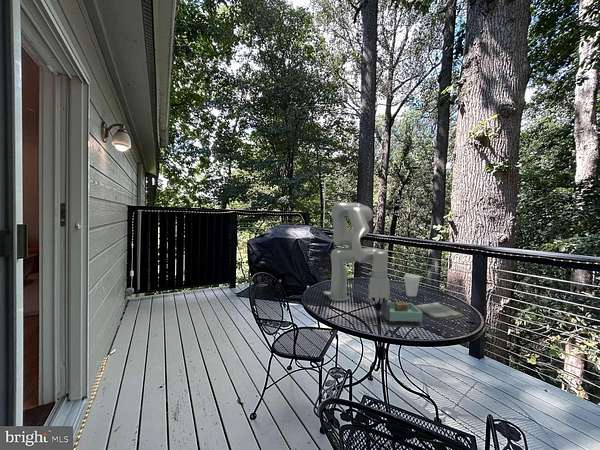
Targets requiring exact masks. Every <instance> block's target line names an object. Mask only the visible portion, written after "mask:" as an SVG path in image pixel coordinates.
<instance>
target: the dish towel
mask: <svg viewBox="0 0 600 450" xmlns="http://www.w3.org/2000/svg"><path fill="white" fill-rule="evenodd" d="M415 306H416V307H417V308H418V309H419V310H420V311H421V312H423V314H425V315H426V316H429V317H431V318H432V319H434V320H445V319H458V318H464V315H463V313H462V312H459V311H457V310H455V309H453V308H451V307H449V306H447V305H443V304H441V303H439V302H438V301H437V302H431V303H425V304H424V303H422V304H417V305H415Z"/></svg>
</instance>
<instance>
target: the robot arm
mask: <svg viewBox="0 0 600 450" xmlns="http://www.w3.org/2000/svg"><path fill="white" fill-rule="evenodd" d="M345 217H348V219H349V221H350V224H351V227H352V230H348V222H347V219H346V218H345ZM373 217H374V213H373V210H372V209H371V208H370V207H369V206H367V205H364V204H362V203H359V202H349V201H347V202H345V201H341V202H340V201H339V202H337V203H334V204H333V206H332V208H331V218H332V222H333V223H332V224H333V225H332V231H333V233H332V236H333V237H332V239H333V243H334V245H335V246H339V247H336V248H334V249H332V250H331V252H330V260H331V283H330V284H331V285H330V286H331V287H330V289H329V290H328V291H325V290H324V291H323V295H325V296H327V297H329V298H330V299H329V298H328V299H329V300H331V299H332V300H331V301H334V300H335V301H334V302H346V301H348V300H349V298H350V297H349V295H347V287H348V286H347V285H348V269H347V267H346V265H345V264H351V263H356V262H357V263H359V264H360V263H361V264H366V263H367V264H368V263H372V264H371V265H372V267H371V271H370V272H368V275H369V276H370V278H369V281H368V287H367V294H368V295H367V299H369V300H372V301H373V302H374V309H375V311H376V312H380V309H381V304H382V302H383V301H384V300H386V301H387V300H389V299H390V295H391V291H390V290H391V287H390V279H389V278H388V267H389V265H388V263H389V253H388V251H386V250H381V249H379V248H378V247H377V248H376V247H368V248H367V247H366V248H363V247H362V244H361V238H363V237H364V236H366V235H368V234H369V232H370V226H369V224H368V222H371V221H372V219H373ZM344 246H347V247H344Z"/></svg>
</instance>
